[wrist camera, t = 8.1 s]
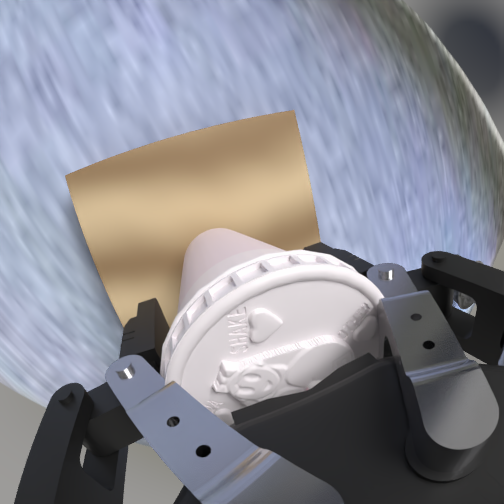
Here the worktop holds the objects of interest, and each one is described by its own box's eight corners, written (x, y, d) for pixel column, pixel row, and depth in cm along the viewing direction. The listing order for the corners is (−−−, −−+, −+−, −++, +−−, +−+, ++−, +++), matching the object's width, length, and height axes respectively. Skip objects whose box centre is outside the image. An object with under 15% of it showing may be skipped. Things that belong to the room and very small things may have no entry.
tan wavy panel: (79, 173, 17) (64, 175, 14) (276, 116, 19) (294, 110, 17) (148, 349, 22) (148, 372, 19) (311, 291, 24) (329, 307, 22)
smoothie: (252, 325, 17) (391, 537, 5) (144, 302, 15) (166, 593, 2) (292, 223, 16) (544, 363, 3) (179, 184, 14) (370, 403, 1)
